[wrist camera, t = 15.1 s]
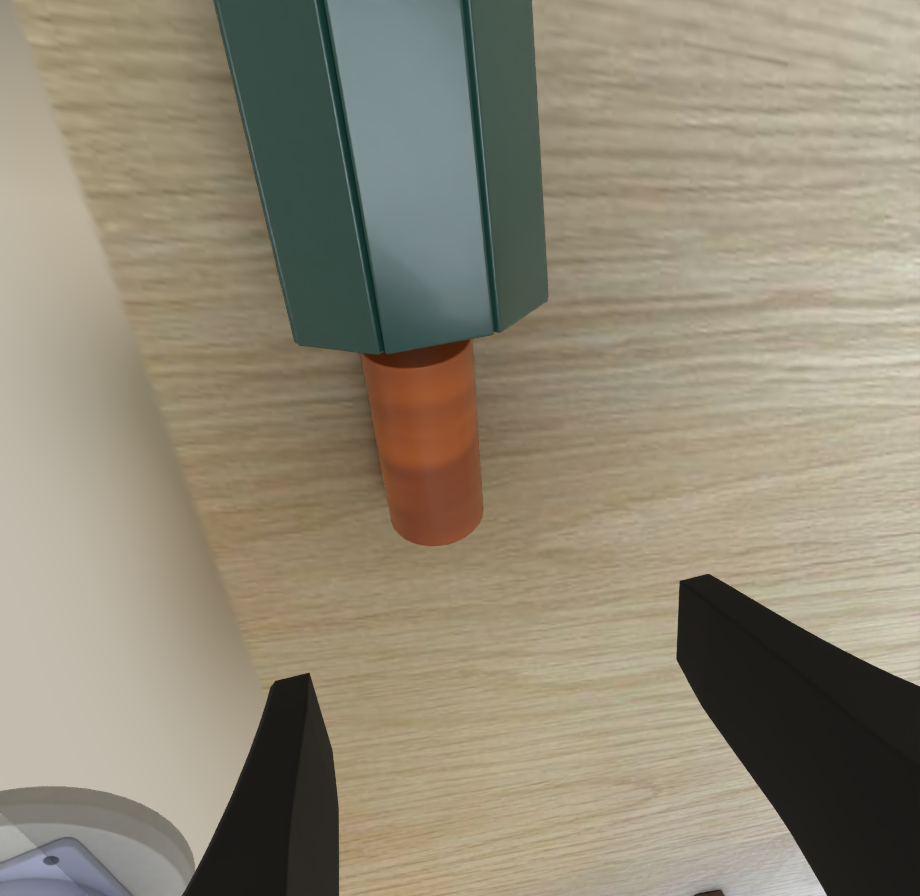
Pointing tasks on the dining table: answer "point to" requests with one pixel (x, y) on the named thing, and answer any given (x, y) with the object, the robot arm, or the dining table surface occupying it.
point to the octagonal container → (394, 164)
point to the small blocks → (712, 894)
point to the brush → (428, 440)
